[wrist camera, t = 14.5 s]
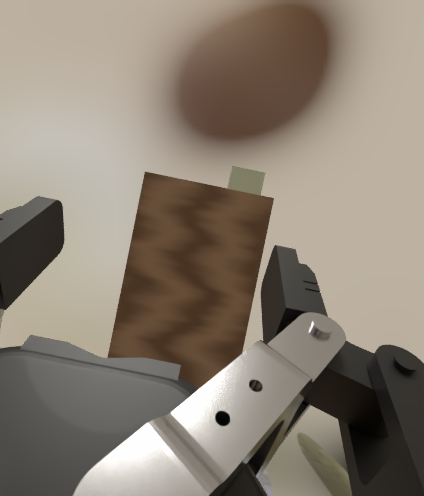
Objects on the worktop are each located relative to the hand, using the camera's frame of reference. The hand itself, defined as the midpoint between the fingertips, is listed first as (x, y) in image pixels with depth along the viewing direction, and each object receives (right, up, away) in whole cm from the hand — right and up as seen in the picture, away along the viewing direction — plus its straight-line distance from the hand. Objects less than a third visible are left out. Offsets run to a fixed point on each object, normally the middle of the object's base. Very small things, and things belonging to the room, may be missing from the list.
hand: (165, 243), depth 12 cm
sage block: (+5, +5, +29) cm, 30 cm away
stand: (-5, -25, +27) cm, 37 cm away
